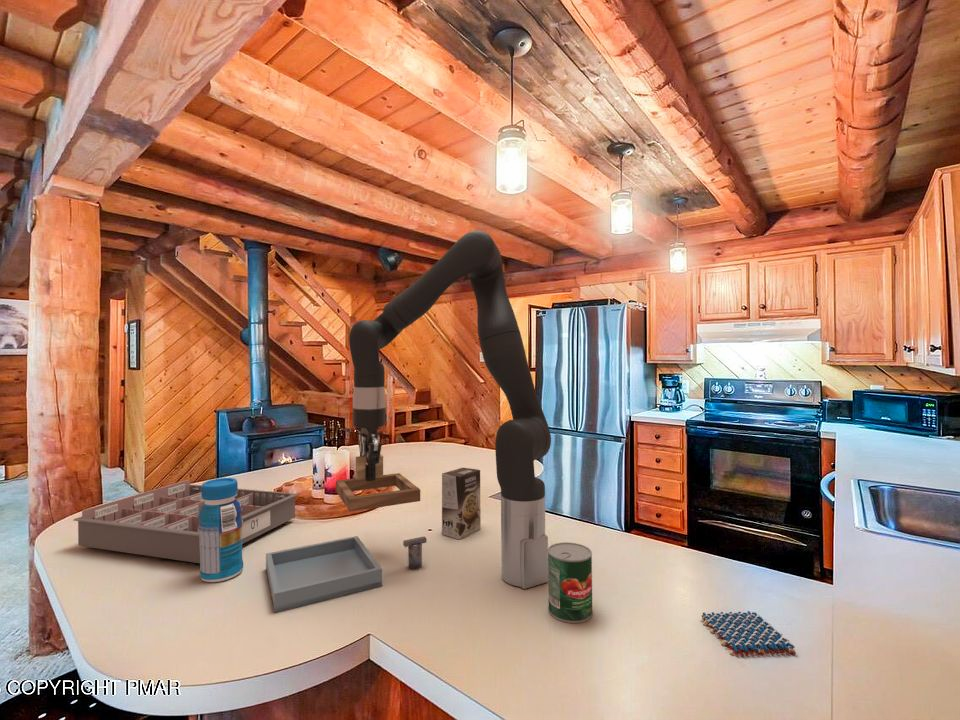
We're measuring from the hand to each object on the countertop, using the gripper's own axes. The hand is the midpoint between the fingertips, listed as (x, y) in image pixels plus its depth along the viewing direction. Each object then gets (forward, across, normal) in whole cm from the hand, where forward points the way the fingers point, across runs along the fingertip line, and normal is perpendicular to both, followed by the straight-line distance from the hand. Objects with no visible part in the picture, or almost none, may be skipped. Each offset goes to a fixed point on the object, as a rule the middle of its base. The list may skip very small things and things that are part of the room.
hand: (369, 479), depth 109 cm
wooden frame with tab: (+2, -7, 0) cm, 7 cm away
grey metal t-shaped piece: (+17, -12, -8) cm, 22 cm away
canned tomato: (+17, -42, -26) cm, 52 cm away
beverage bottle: (+18, +5, +30) cm, 36 cm away
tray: (+18, -7, +12) cm, 22 cm away
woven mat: (+17, -62, -47) cm, 79 cm away
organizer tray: (+19, +34, +38) cm, 54 cm away
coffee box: (+18, +2, -25) cm, 31 cm away
